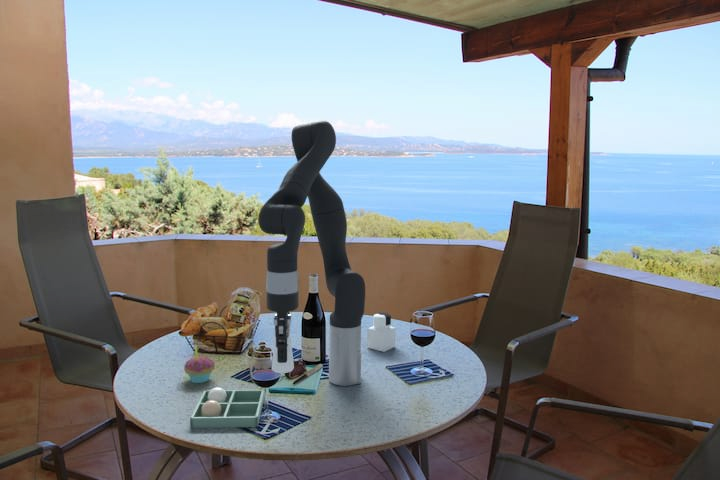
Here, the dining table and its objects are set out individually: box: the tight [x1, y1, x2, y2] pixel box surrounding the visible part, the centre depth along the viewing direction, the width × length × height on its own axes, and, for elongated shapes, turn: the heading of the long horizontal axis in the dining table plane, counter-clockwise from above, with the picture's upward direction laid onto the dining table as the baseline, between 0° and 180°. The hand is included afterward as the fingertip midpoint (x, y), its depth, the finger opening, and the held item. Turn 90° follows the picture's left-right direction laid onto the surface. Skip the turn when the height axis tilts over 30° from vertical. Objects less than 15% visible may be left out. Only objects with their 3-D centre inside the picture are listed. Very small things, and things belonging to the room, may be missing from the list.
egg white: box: [208, 386, 227, 403], centre depth 142 cm, size 5×5×5 cm
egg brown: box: [201, 400, 221, 417], centre depth 134 cm, size 5×5×5 cm
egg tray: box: [189, 389, 265, 429], centre depth 138 cm, size 16×16×3 cm
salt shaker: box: [271, 335, 295, 374], centre depth 131 cm, size 5×5×11 cm
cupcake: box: [183, 343, 216, 384], centre depth 157 cm, size 9×8×12 cm
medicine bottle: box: [367, 312, 397, 353], centre depth 189 cm, size 7×7×12 cm
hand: (282, 358), depth 131 cm, fingers closed on salt shaker, 4 cm apart
